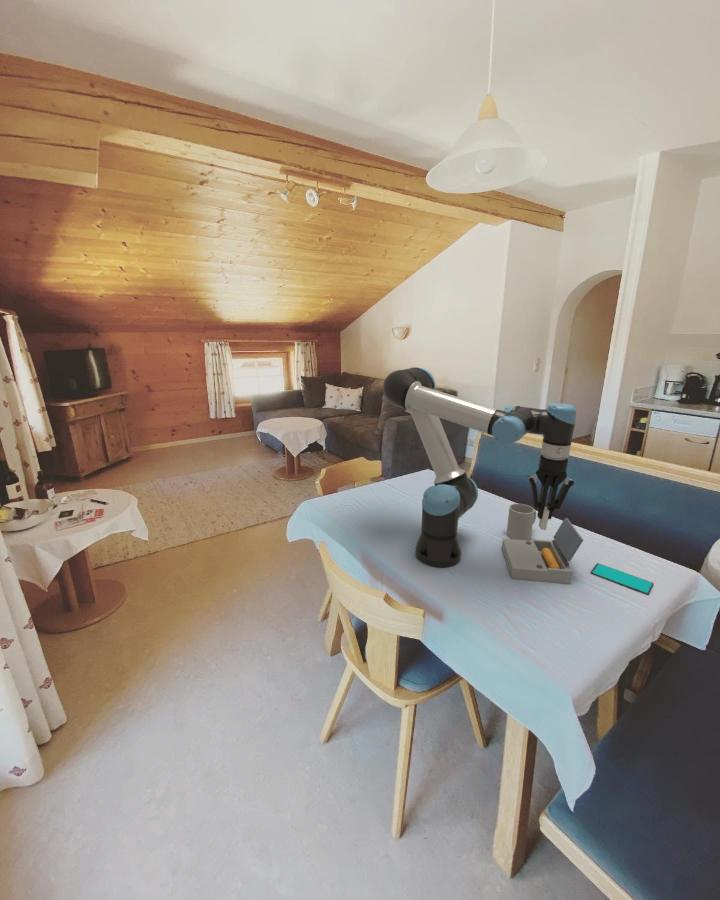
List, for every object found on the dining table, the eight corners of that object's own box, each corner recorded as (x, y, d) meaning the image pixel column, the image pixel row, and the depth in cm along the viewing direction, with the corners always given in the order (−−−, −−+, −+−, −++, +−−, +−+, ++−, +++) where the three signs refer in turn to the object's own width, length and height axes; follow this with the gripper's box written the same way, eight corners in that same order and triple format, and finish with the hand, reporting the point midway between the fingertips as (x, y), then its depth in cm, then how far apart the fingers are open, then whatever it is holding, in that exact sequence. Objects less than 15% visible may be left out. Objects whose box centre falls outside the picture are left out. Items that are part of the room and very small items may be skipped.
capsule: (551, 575, 120) (549, 567, 119) (541, 554, 131) (539, 546, 131) (562, 574, 119) (560, 565, 119) (550, 553, 131) (549, 545, 130)
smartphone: (597, 562, 126) (653, 582, 116) (596, 565, 126) (653, 585, 116) (590, 572, 121) (648, 594, 111) (589, 574, 122) (647, 596, 111)
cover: (580, 539, 114) (585, 540, 114) (565, 517, 127) (569, 518, 127) (564, 565, 117) (568, 566, 117) (550, 541, 130) (554, 542, 130)
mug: (519, 543, 139) (523, 515, 136) (501, 533, 146) (504, 506, 143) (542, 535, 144) (546, 508, 141) (523, 525, 151) (527, 499, 148)
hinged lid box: (511, 578, 119) (513, 566, 118) (501, 547, 136) (502, 536, 135) (570, 583, 117) (572, 571, 115) (552, 551, 134) (554, 540, 132)
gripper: (534, 459, 113) (523, 531, 120) (582, 461, 111) (568, 535, 118) (528, 451, 120) (518, 520, 127) (573, 453, 118) (560, 523, 125)
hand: (542, 527), depth 123 cm, fingers closed
